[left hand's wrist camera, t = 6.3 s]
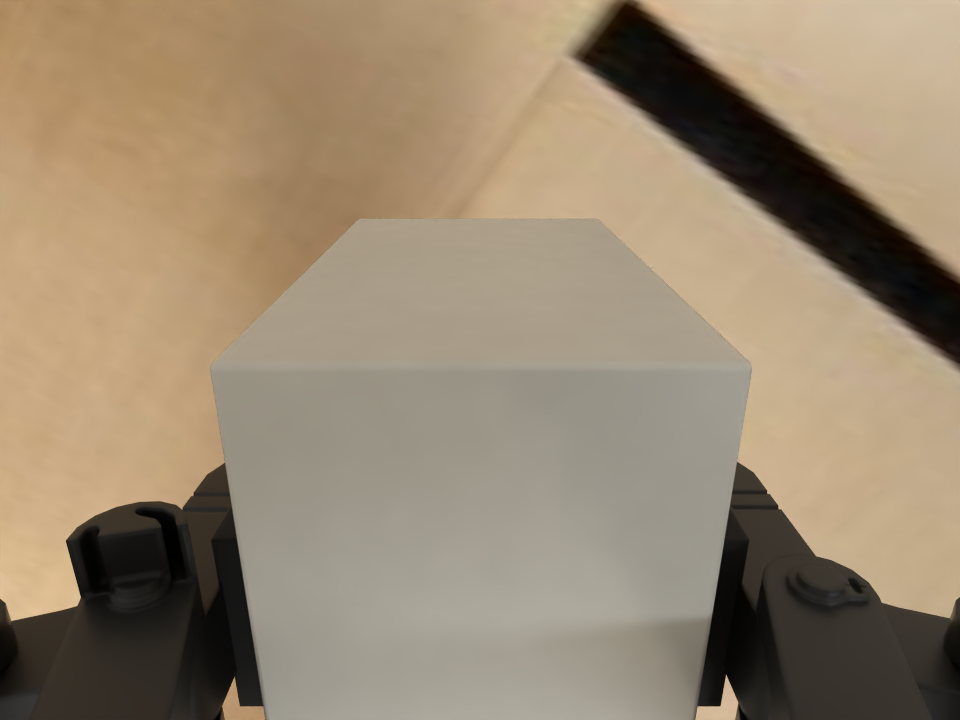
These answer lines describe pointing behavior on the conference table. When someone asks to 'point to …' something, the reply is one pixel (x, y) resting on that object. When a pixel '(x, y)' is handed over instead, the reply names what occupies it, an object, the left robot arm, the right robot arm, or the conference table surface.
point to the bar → (480, 477)
